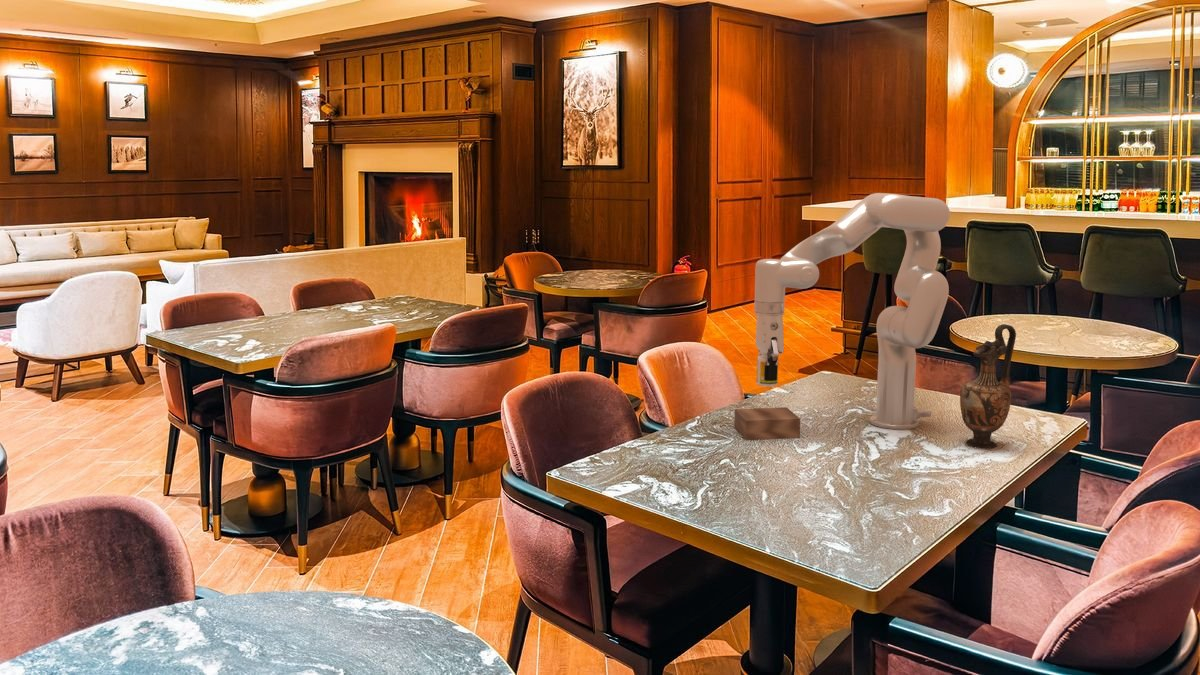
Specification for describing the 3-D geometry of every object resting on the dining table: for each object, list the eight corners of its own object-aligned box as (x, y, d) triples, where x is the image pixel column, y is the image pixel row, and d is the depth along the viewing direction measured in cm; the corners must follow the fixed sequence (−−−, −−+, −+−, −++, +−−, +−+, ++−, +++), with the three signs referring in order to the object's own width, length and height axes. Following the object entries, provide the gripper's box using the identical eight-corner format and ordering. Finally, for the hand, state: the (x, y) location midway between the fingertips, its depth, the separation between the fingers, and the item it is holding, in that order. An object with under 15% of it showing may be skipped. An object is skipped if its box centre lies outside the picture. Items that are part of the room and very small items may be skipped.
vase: (948, 439, 240) (955, 321, 234) (996, 437, 241) (1003, 320, 235) (970, 452, 228) (978, 329, 223) (1020, 450, 229) (1029, 328, 224)
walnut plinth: (786, 425, 253) (786, 407, 252) (799, 437, 242) (800, 418, 241) (734, 427, 252) (734, 409, 251) (745, 439, 240) (746, 420, 239)
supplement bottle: (752, 383, 246) (753, 347, 244) (769, 381, 248) (770, 345, 246) (764, 387, 241) (765, 350, 239) (781, 385, 243) (783, 348, 242)
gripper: (793, 312, 233) (791, 385, 236) (774, 303, 250) (772, 370, 253) (764, 313, 232) (761, 385, 235) (746, 303, 249) (744, 371, 252)
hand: (767, 377), depth 244 cm, fingers closed on supplement bottle, 5 cm apart
